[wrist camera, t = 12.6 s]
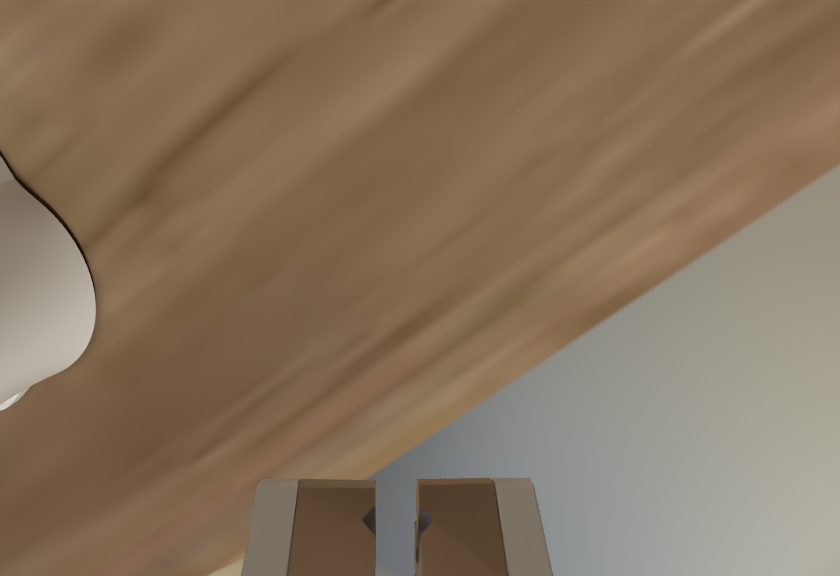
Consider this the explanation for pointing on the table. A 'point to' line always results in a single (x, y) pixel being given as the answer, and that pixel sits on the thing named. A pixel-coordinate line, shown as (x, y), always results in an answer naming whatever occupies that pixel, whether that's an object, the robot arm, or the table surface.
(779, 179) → the table surface
